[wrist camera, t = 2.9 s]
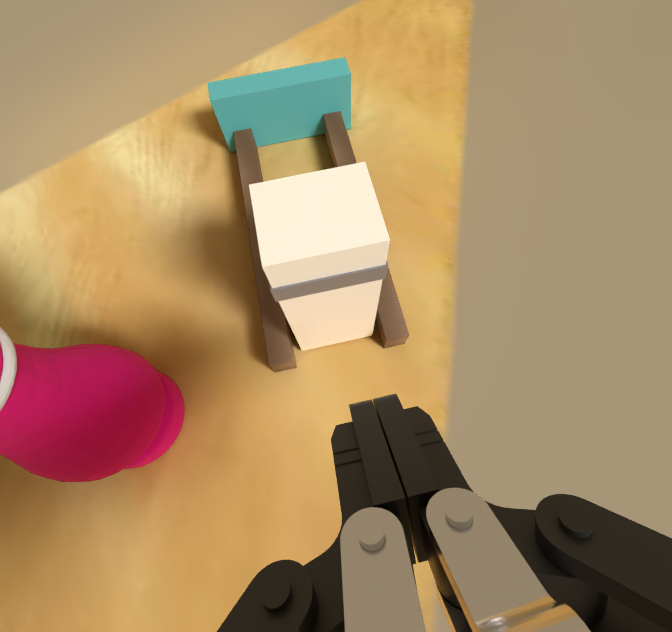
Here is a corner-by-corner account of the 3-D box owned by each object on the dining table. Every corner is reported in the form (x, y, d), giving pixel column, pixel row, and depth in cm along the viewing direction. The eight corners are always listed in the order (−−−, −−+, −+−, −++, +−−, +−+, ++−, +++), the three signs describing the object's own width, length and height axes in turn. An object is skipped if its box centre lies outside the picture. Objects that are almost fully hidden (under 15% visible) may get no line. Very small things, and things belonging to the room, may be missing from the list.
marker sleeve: (300, 352, 25) (259, 269, 14) (290, 298, 26) (246, 183, 15) (373, 336, 25) (393, 241, 14) (359, 283, 26) (366, 159, 15)
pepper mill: (104, 500, 22) (-1225, 763, 3) (71, 400, 24) (-832, 231, 6) (210, 435, 23) (-358, 367, 5) (168, 345, 26) (-322, 56, 7)
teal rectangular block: (230, 152, 32) (209, 100, 27) (228, 135, 33) (207, 82, 28) (350, 128, 32) (350, 74, 28) (345, 113, 33) (345, 57, 28)
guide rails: (275, 372, 25) (269, 365, 23) (238, 137, 32) (231, 118, 31) (404, 343, 25) (409, 334, 23) (337, 118, 33) (336, 98, 31)
